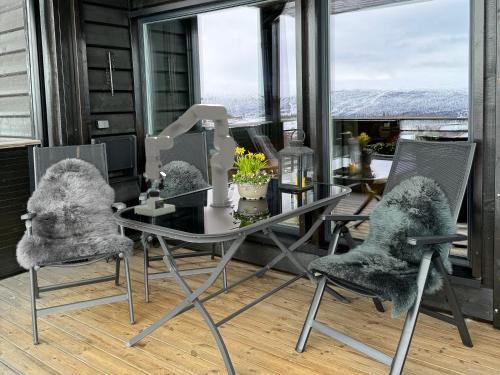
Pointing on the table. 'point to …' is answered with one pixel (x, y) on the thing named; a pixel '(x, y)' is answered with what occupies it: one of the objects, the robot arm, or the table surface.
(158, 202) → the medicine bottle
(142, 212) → the tray
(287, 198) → the table surface
